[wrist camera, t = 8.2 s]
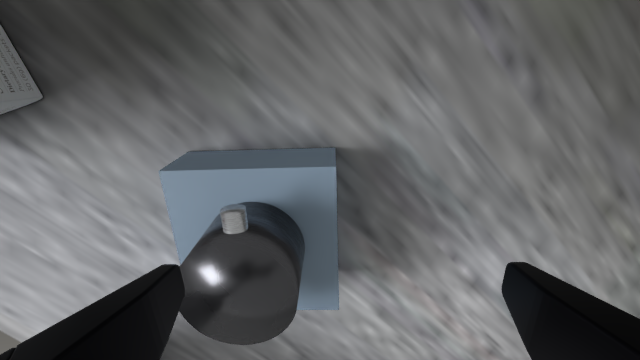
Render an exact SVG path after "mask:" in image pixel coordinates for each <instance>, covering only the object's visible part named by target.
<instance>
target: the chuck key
mask: <svg viewBox="0 0 640 360" xmlns="http://www.w3.org/2000/svg"><path fill="white" fill-rule="evenodd" d="M304 254H305V242H304V238H303V234H302V232H301V230H300V228H299V226H298V225H297V223H296V222H295V221H294V220H293V219H292V218H291V217H290V216H289V215H288V214H287V213H285V212H284V211H282V210H280V209H279V208H277V207H274V206H272V205H269V204H266V203H261V202H243V203H238V204H231V205H227V206H225V207H223V208H221V209H220V213H219V214H218V215H217V216H216V218H215V219H214V220H213V222H212V223H211V224H210V226H209V227H208V228H207V230H206V231H205V232H204V234H203V235H202V237H201V238H200V239H199V241H198V242H197V243H196V245H195V246H194V248H193V249H192V250H191V252H190V253H189V254H188V256H187V257H186V258H185V260H184V261H183V263H182V264H181V265H180V270H181V274H182V278H183V282H184V286H185V295H184V298H183V301H182V304H181V306H180V309H179V311H180V313H181V314H182V316H183V317H184V318H185V319H186V320H187V322H188V323H189V324H191V325H192V326H193V327H194V328H195V329H197V330H198V331H199V332H201V333H203V334H204V335H206V336H208V337H210V338H213V339H215V340H218V341H221V342H225V343H230V344H239V345H247V344H256V343H261V342H264V341H267V340H270V339H272V338H274V337H276V336H277V335H279V334H280V333H282V332H283V331H284V330H285V329H286V328H287V327H288V326H289V324H290V323H291V322H292V320H293V318H294V316H295V313H296V310H297V304H298V297H299V290H300V282H301V275H302V268H303V261H304Z"/></svg>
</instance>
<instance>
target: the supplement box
mask: <svg viewBox="0 0 640 360" xmlns="http://www.w3.org/2000/svg"><path fill="white" fill-rule="evenodd" d="M42 98H43V96H42V94H41V92H40V91H39V89H38V87H37V86H36V84H35V82H34V81H33V79H32V77H31V75H30V74H29V72H28V70H27V69H26V67H25V65H24V63H23V62H22V60H21V58H20V57H19V55H18V53H17V52H16V50H15V48H14V47H13V45H12V43H11V41H10V40H9V38H8V36H7V35H6V33H5V31H4V30H3V28H2V26H1V24H0V115H1V114H3V113H6V112H9V111H12V110H15V109H18V108H20V107H23V106H26V105H28V104H31V103H34V102H36V101H38V100H40V99H42Z"/></svg>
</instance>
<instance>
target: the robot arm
mask: <svg viewBox="0 0 640 360" xmlns="http://www.w3.org/2000/svg"><path fill="white" fill-rule="evenodd" d="M502 294H503V297H504V300H505V302H506V304H507V307H508V309H509V311H510V313H511V316H512V318H513V320H514V323H515V325H516V327H517V329H518V332H519V334H520V336H521V339H522V341H523V343H524V345H525V347H526V349H527V352H528V353H529V355H530V357H531V359H532V360H640V319H639V318H637V317H635V316H633V315H631V314H629V313H627V312H625V311H622V310H620V309H618V308H616V307H614V306H612V305H610V304H608V303H606V302H604V301H602V300H600V299H598V298H596V297H594V296H592V295H590V294H588V293H586V292H584V291H582V290H580V289H578V288H576V287H574V286H572V285H570V284H568V283H566V282H564V281H562V280H560V279H558V278H556V277H554V276H552V275H550V274H548V273H546V272H544V271H542V270H540V269H538V268H536V267H534V266H532V265H530V264H528V263H526V262H510V263H508V264H507V266H506V269H505V274H504V279H503V283H502ZM184 295H185V286H184V282H183V278H182V274H181V270H180V267H179V266H178V265H176V264H164V265H161V266H159V267H158V268H156V269H154V270H152V271H150V272H149V273H147V274H145V275H143V276H141V277H140V278H138V279H136V280H134V281H132V282H131V283H129V284H127V285H125V286H123V287H121V288H120V289H118V290H116V291H114V292H112V293H111V294H109V295H107V296H105V297H103V298H102V299H100V300H98V301H96V302H94V303H93V304H91V305H89V306H87V307H85V308H84V309H82V310H80V311H78V312H76V313H75V314H73V315H71V316H69V317H67V318H66V319H64V320H62V321H60V322H58V323H57V324H55V325H53V326H51V327H49V328H48V329H46V330H44V331H42V332H40V333H39V334H37V335H35V336H33V337H31V338H30V339H28V340H26V341H24V342H22V343H21V344H19V345H17V347H16V348H11V349H9V350H8V351H6V352H4V353H3V354H1V355H0V360H159V359H160V357H161V355H162V353H163V351H164V348H165V346H166V343H167V341H168V338H169V336H170V333H171V330H172V328H173V325H174V322H175V320H176V317H177V314H178V312H179V309H180V306H181V304H182V301H183V298H184Z"/></svg>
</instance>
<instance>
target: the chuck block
mask: <svg viewBox="0 0 640 360" xmlns="http://www.w3.org/2000/svg"><path fill="white" fill-rule="evenodd" d="M159 175H160V179H161V184H162V188H163V192H164V196H165V201H166V205H167V209H168V213H169V218H170V222H171V226H172V230H173V235H174V239H175V243H176V247H177V252H178V256H179V260H180V264H182V263H183V261H184V260H185V258H186V257H187V256H188V254H189V253H190V252H191V250H192V249H193V248H194V246H195V245H196V243H197V242H198V241H199V239H200V238H201V237H202V235H203V234H204V232H205V231H206V230H207V228H208V227H209V226H210V224H211V223H212V222H213V220H214V219H215V218H216V216H217V215H218V214H219V213H220V209H221V208H223V207H225V206H227V205H231V204H238V203H243V202H261V203H266V204H269V205H272V206H274V207H277V208H279V209H280V210H282V211H284V212H285V213H287V214H288V215H289V216H290V217H291V218H292V219H293V220H294V221H295V222H296V223H297V225H298V226H299V228H300V230H301V232H302V234H303V238H304V242H305V254H304V261H303V268H302V275H301V282H300V290H299V297H298V304H297V310H339V281H338V235H337V188H336V154H335V147H334V148H299V149H264V150H229V151H194V152H187V153H186V154H184V155H183V156H181V157H180V158H178V159H176V160H175V161H173V162H172V163H170V164H169V165H167V166H166V167H164V168H163V169H161V170H160V171H159Z"/></svg>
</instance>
